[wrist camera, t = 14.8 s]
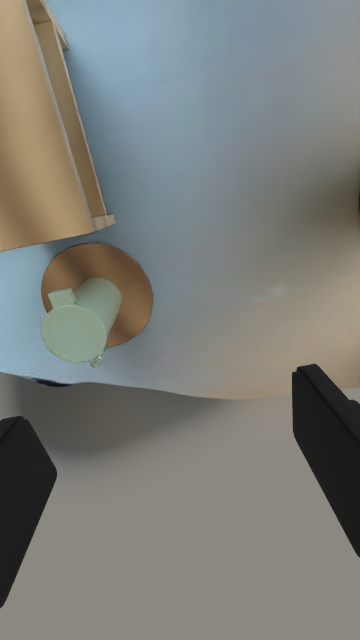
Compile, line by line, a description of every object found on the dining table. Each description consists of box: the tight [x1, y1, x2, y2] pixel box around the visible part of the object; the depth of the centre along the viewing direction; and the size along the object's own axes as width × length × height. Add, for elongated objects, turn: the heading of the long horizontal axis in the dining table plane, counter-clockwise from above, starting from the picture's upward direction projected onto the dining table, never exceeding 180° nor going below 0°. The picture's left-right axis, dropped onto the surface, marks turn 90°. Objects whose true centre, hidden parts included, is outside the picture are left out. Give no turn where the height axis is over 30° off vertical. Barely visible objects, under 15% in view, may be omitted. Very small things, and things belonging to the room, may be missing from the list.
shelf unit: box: [0, 0, 116, 252], centre depth 24 cm, size 10×18×12 cm, turn 10°
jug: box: [41, 277, 122, 367], centre depth 31 cm, size 10×6×11 cm, turn 10°
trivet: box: [41, 243, 153, 347], centre depth 36 cm, size 15×15×1 cm
